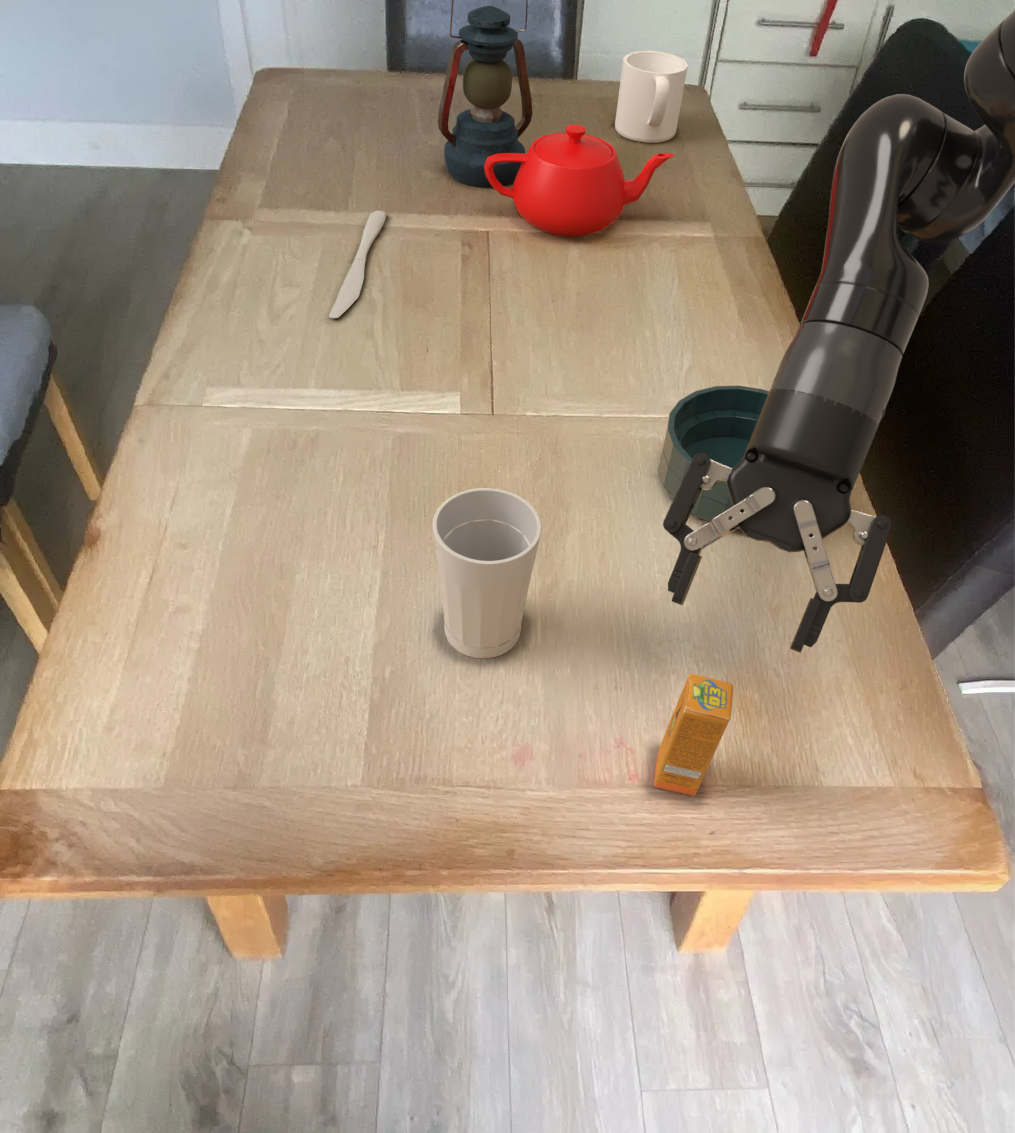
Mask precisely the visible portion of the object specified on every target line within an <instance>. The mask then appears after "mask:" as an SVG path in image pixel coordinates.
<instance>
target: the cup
mask: <svg viewBox="0 0 1015 1133" xmlns="http://www.w3.org/2000/svg"><path fill="white" fill-rule="evenodd" d="M542 530H543V527H542V520H541V517H540V514H539V512H538V511H537V509H536V508H535V507H534V506H533V504H531V503H530V502H529V501H528V500H526V498H524V497H522V496H520V495H519V494H516V493H514V492H511V491H509V490H505V489H501V488H495V487H479V488H478V487H476V488H471V489H466V490H463V491H460V492H457V493H455V494H453V495H452V496H450V497H448V498H447V499H445V500H444V501H443V502H442V503H441V504H440V505H439V506H438V508H437V509H436V511H435V513H434V516H433V518H432V531H433V539H434V546H435V553H436V562H437V570H438V577H439V584H440V594H441V603H442V612H443V618H444V624H443V626H444V635H445V637H446V640H447V641H448V643H449V645H451V647H452V648H453V649H454V650H456V651H457V652H459V653H460V654H463V655H464V656H468V657H470V658H474V659H475V658H476V659H491V658H495V657H496V658H497V657H499V656H501V655H504V654H506V653H507V652H509V651H510V650H512V649H513V648H514V647H515V646H516V644H517V643H518V642H519V639H520V636H521V633H522V632H521V631H522V622H523V617H524V612H525V607H526V602H527V598H528V592H529V588H530V584H531V577H532V574H533V569H534V565H535V561H536V556H537V553H538V549H539V544H540V540H541V535H542Z"/></svg>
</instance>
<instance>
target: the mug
mask: <svg viewBox="0 0 1015 1133" xmlns="http://www.w3.org/2000/svg"><path fill="white" fill-rule="evenodd" d="M688 67H689V65H688V62H687V61H686V60H685V59H684V58H682V57H680V56H678V55H676V54H672V53H669V52H663V51H655V50H639V51H634V52H630V53H627V54H626V55H624V57H623V58H622V67H621V75H620V82H619V90H618V97H617V105H616V113H615V121H614V130H615V131H616V132H617V134H619V135H620V136H621V137H623V138H625V139H627V140H630V141H634V142H639V143H647V144H658V143H662V142H667V141H670V140H672V139H673V138H674V137H675V135H676V133H677V129H678V124H679V118H680V112H681V107H682V101H683V96H684V89H685V83H686V79H687V73H688Z"/></svg>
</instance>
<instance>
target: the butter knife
mask: <svg viewBox="0 0 1015 1133" xmlns="http://www.w3.org/2000/svg"><path fill="white" fill-rule="evenodd" d="M386 219H387V214H386V212H385V211H383V210H380V209H379V210H374V211H372V212H371V213H370V215H369V216H368V218H367V221H366V222H365V225H364V228H363V231H362V237H361V240H360V243H359V246H358V249H357V252H356V254H355V257H354V260H353V262H352V264H351V266H350V268H349V270H348V272H347V275H346V276H345V278H344V280H343V282H342V285H341V287H340V289H339V291H338V294H337V296H336V299H335V302H334V304H333V306H332V307H331V309H330V312H329V314H328V317H329V318H331V319H334V320H335V319H339V318H340V317H341V316H342V315H343V314H344V313H345V312H346V311H347V310H348V309H349V308H350V307H351V306H352V305H353V304H354V303H355V301H356V300H357V299H358V298H359V297H360V294H361V290H362V287H363V283H364V279H365V265H366V262H367V255H368V252H369V250H370V249H371V246H372V244H373V243H374V241H375V239H376V238H377V237H378V235H379V233H380V232H381V230H382V227H383V226H384V224H385V222H386Z"/></svg>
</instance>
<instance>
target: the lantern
mask: <svg viewBox="0 0 1015 1133" xmlns="http://www.w3.org/2000/svg"><path fill="white" fill-rule="evenodd" d="M454 1H455V0H451V5H450V6H451V7H450V23H449V37H450V38H453V39H460V40H459V41H457V42H455V43H454V44H453V46H452V47H451V49H450V54H449V58H448V63H447V68H446V73H445V78H444V84H443V88H442V94H441V98H440V103H439V108H438V114H437V126H438V130H439V132H440V133H441V135H442V136H443V137H444V138H445V139H446V140H447V141H446V142H445V144H444V148H443V156H444V162H445V165H446V168H447V170H448V173H449V174H450V176H451V177H452V178H453V179H454V180H456V181H458V182H460V183H462V184H465V185H469V186H473V187H482V188H493V187H492V186H491V184H490V182H489V181H488V179H487V177H486V175H485V169H484V165H485V162H486V160H487V158H488V157H489V156H492V155H494V154H500V153H523V154H526V148H525V146H524V145H523V144H522V142H520V141H519V138H520V137H521V136H522V135H523V133H524V132H525V131H526V130H527V129H528V127H529V126H530V123H531V122H532V118H533V113H534V112H533V101H532V100H533V99H532V92H531V86H530V80H529V72H528V66H527V59H526V58H527V57H526V52H525V45H524V44H523V42H522V40H521V39H520V38H518V36H519V34H518V33H522V32H524V31H526V30H527V23H528V7H529V6H528V4H529V0H525V25H524V28H523V29H520V30H515V29H514V28H512V27H510V26H509V25H510V24H511V15H510V13H508V12H506V11H504V10H502V9H501V8H499V7H495V6H492V5H484V6H480V7H477V8H475V9H472V10H470V11H469V12H467V19H466V20H467V23H468V25H464V26H462V27H461V28H459V31H458V35H452V27H453V15H454ZM512 48H513V53H514V59H515V67H516V73H517V81H518V86H519V93H520V98H521V99H520V100H521V111H522V112H521V118H520V119H519V121H518V122H517V123H515V122H516V121H515V118H514V116H513V115H511V114H510V113H509V112H506V111H504V110H502V108H501V107H502V106H503V105H504V104H506V103H507V101H508V100H509V99H510V97H511V94H512V89H513V73H512V69H511V67H510V66H509V64H508V63H507V62H506V61H505V60H504V59H506V57H507V55H508V52H510V51H511V50H512ZM465 51H468V54H469V55H470V57H471V59H470V60H469V61H468V62H467V63H466V64H465V66H464V70H463V73H462V91H463V95H464V96H465V99H466V100H467V102H469V103H470V105H472V106H471V108H468V109H466V110H463V111H462V112H460V113H458V114H457V116H456V120H455V125H454V126H453V128H452V133H451V131H450V129H449V120H450V110H451V107H452V106H451V105H452V102H453V99H454V98H453V97H454V93H455V88H456V82H457V79H458V75H459V74H458V73H459V68H460V64H461V59H462V56H463V53H464V52H465ZM521 164H522V162H499V163H496V164H494V165H493V171H494V174H495V176H496V179H497V180H498V181H499V182H500V184H501V185H502V186H505V185H509V184H511V183H512V182H513V183H514V181H515V178H516V176H517V173H518V171H519V168H520V166H521Z"/></svg>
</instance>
